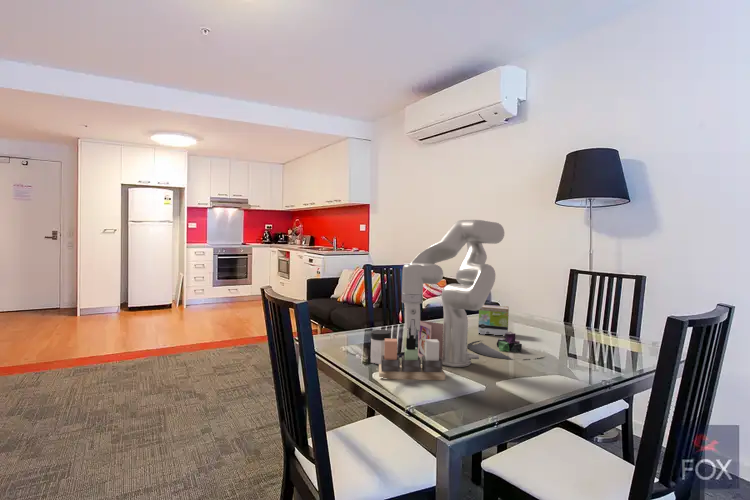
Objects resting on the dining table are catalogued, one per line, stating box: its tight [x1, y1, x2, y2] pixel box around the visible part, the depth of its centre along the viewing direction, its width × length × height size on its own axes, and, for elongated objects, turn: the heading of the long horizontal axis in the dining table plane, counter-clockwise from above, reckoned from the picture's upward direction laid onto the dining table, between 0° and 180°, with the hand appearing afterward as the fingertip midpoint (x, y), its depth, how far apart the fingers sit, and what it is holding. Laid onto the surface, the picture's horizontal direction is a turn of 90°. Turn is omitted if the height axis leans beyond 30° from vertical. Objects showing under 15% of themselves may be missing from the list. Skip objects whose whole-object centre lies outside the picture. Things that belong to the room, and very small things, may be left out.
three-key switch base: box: [378, 355, 446, 381], centre depth 155 cm, size 23×11×6 cm, turn 90°
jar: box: [370, 329, 392, 365], centre depth 171 cm, size 9×8×12 cm
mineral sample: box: [467, 331, 544, 361], centre depth 194 cm, size 35×35×9 cm
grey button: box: [425, 339, 439, 361], centre depth 155 cm, size 4×4×7 cm
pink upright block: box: [384, 338, 398, 360], centre depth 155 cm, size 4×4×7 cm
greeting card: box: [417, 320, 444, 358], centre depth 177 cm, size 11×7×15 cm, turn 20°
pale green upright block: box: [404, 346, 418, 360], centre depth 155 cm, size 4×4×7 cm
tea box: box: [477, 304, 510, 337], centre depth 226 cm, size 15×10×15 cm
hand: (410, 349), depth 154 cm, fingers closed
